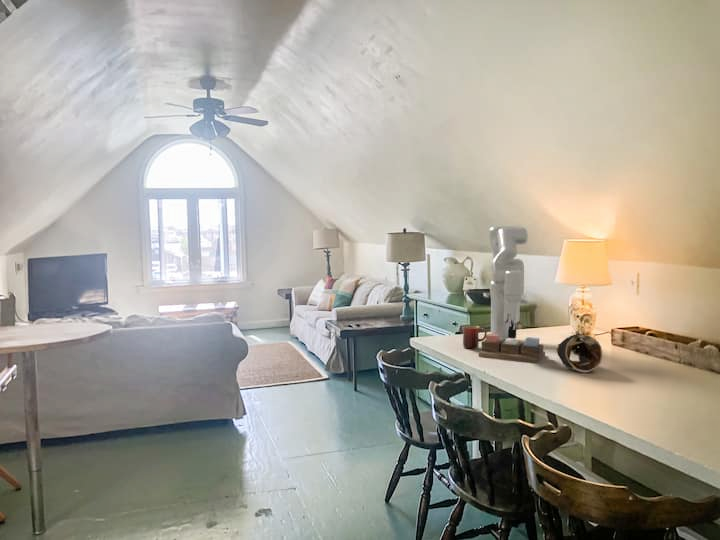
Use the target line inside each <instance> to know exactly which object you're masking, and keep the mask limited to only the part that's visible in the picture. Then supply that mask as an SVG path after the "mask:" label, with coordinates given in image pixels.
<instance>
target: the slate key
mask: <svg viewBox="0 0 720 540" xmlns="http://www.w3.org/2000/svg"><path fill="white" fill-rule="evenodd" d="M524 341H525V346H531V347H538V346H539V344H540V337H532V336H530V337H529V336H527V337H526V338H525V340H524Z"/></svg>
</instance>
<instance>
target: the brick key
mask: <svg viewBox="0 0 720 540" xmlns="http://www.w3.org/2000/svg"><path fill="white" fill-rule="evenodd" d="M485 340H486V342H492V343H498V342H500V334H491V333H488V334H487V335H486V338H485Z"/></svg>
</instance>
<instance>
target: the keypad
mask: <svg viewBox="0 0 720 540" xmlns="http://www.w3.org/2000/svg"><path fill="white" fill-rule="evenodd" d="M478 357H480V358H489V359H498V360H508V361H516V362H525V363H530V364H531V363H534V364H538V363H539V362H540V361H541V360H542V359H544V358H545V357H546V351H544V344H543V343H542V344H541V343H539V346H538V347H531V346H525V343H524V342H521V341H519V344H518V345H512V344H505V340H500V342H498V343H492V342H486V339H484V340H483V341H481V350H480V351H478Z"/></svg>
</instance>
